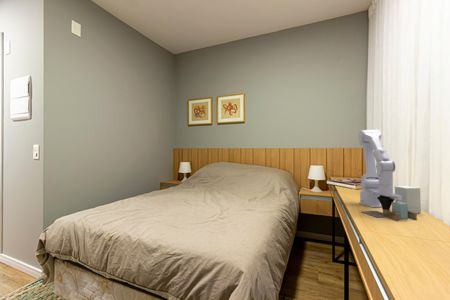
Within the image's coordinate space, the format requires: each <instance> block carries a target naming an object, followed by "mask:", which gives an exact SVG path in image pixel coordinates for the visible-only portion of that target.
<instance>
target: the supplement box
mask: <svg viewBox="0 0 450 300" xmlns="http://www.w3.org/2000/svg"><path fill="white" fill-rule="evenodd" d="M394 194H396V195H400V196H402V200H397V199H395V200H394V202H402V203H407V204H408V211H411V212H415V213H417V214H421V212H422V207H421V206H422V205H421V187H414V186H410V185H395V186H394Z"/></svg>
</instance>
